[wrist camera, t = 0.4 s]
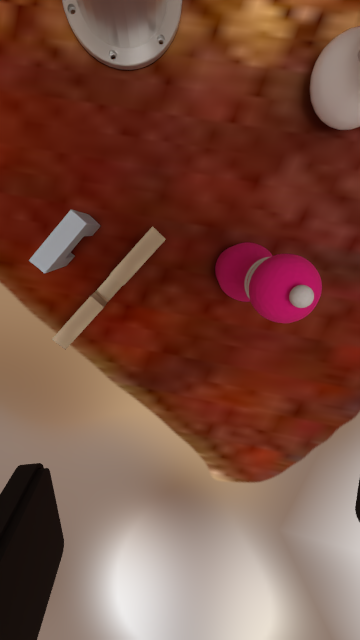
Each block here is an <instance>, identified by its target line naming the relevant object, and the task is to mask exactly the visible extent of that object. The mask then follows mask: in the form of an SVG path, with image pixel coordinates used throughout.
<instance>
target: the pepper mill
mask: <svg viewBox="0 0 360 640" xmlns="http://www.w3.org/2000/svg"><path fill="white" fill-rule="evenodd" d="M215 274H216V277H217V280H218V282H219V285H220V287H221V289H222V290H223V291H224V292H225V293H226V294H227V295H228V296H229V297H231V298H233V299H235V300H239V301H244V302H249V301H251V303H252V305H253V307H254V308H255V309H256V311H257V312H258V313H259V314H260V315H261V316H263V317H265V318H266V319H268V320H271V321H273V322H278V323H291V322H295V321H298V320H300V319H302V318H304V317H305V316H307V315H308V314H309V313H310V312H311V311H312V310H313V309H314V308H315V306H316V305H317V303H318V301H319V298H320V295H321V290H322V284H321V278H320V275H319V273H318V271H317V270H316V268H315V267H314V266H313V265H312V264H311V263H310V262H309V261H308V260H306V259H305V258H303V257H300V256H298V255H294V254H278V255H275V256H272V254H271V253H270V252H269V251H268V250H267V249H266V248H264V247H262V246H261V245H258V244H255V243H250V242H246V243H240V244H237V245H235V246H232V247H229V248H228V249H226V250H224V251H223V252H222V253H221V254H220V256H219V258H218V259H217V262H216V266H215Z"/></svg>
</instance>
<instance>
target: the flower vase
mask: <svg viewBox="0 0 360 640" xmlns="http://www.w3.org/2000/svg"><path fill="white" fill-rule="evenodd" d="M310 98H311V103H312V106H313V109H314V111H315V113H316V114H317V116H318V117H319V119H320V120H321V121H322V122H324V123H325V124H326V125H328V126H329V127H332V128H335V129H338V130H351V129H355V128H358V127H360V26H357V27H354V28H350V29H348V30H346V31H344V32H342V33H341V34H339V35H338V36H336V37H335V38H333V39H332V40H331V41H330V42H329V43H328V45H327V46H326V47H325V48H324V49H323V50H322V52H321V53H320V55H319V57H318V59H317V61H316V62H315V65H314V68H313V71H312V74H311V80H310Z"/></svg>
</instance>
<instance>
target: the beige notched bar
mask: <svg viewBox="0 0 360 640" xmlns="http://www.w3.org/2000/svg"><path fill="white" fill-rule="evenodd" d="M165 240H166V239H165V238H164V237H163V236H162V235H161V234H160V233H159V232H158V231H157V230H156V229H155V228H154V227H152V228H151V229H150V230H149V231H148V232H147V233H146V234H145V235H144V237H143V238H142V239H141V240H140V241H139V242H138V243H137V244H136V246H135V247H134V248H133V249H132V250H131V251H130V252H129V253H128V255H127V256H126V257H125V258H124V259H123V260H122V261H121V262H120V264H119V265H118V266H117V267H116V268H115V269H114V270H113V271H112V272H111V275H110V276H109V277H108V278H107V279H106V280H105V281H104V283H103V284H102V285H101V286H100V287H99V288H98V289H97V290H96V291H95V292H94V293H93V294H92V295H91V296H90V297H89V298H88V299H87V300H86V302H85V303H84V304H83V305H82V306H81V307H80V308H79V309H78V311H77V312H76V313H75V314H74V315H73V316H72V317H71V318H70V320H69V321H68V322H67V323H66V324H65V325H64V326H63V327H62V328H61V330H60V331H59V332H58V333H57V334H56V335H55V336H54V337H53V341H55V342H56V343H57V344H59V345H60V346H61V347H62V348H64V349H66V348H67V347H68V346H69V345H70V344H71V343H72V342H73V341H74V340H75V339H76V337H77V336H78V335H79V334H80V333H81V332H82V331H83V330H84V329H85V328H86V326H87V325H88V324H89V323H90V322H91V321H92V320H93V319H94V318H95V317H96V315H97V314H98V313H99V312H100V311H101V310H102V309H103V308H104V306H105V305H106V304H107V302H108V301H109V300H110V299H111V298H112V297H113V295H114V294H115V293H116V292H117V291H118V290H119V289H120V288H121V287H122V286H124V285H125V284H126V282H127V281H128V280H129V279H130V278H131V277H132V276H133V275H134V274H135V273H136V271H137V270H138V269H139V268H140V267H141V266H142V265H143V264H144V263H145V262H146V260H147V259H148V258H149V257H150V256H151V255H152V254H153V253H154V252H155V251H156V249H157V248H158V247H159V246H160V245H161V244H162V243H163V242H164V241H165Z"/></svg>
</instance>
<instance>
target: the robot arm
mask: <svg viewBox="0 0 360 640" xmlns="http://www.w3.org/2000/svg"><path fill="white" fill-rule="evenodd" d="M62 2H63V7H64V11H65V13H66V16H67V19H68V22H69V24H70V26H71V28H72V30H73V33H74V34H75V36H76V37H77V39H78V40H79V42H80V44H81V45H82V46H83V47H84V48H85V49H86V50H87V51H88V53H89V54H90V55H92V56H93V57H94V58H96V59H97V60H98V61H100V62H102V63H104V64H106V65H108V66H110V67H113V68H117V69H120V70H134V69H139V68H143V67H145V66H147V65H150V64H152V63H153V62H154V61H156V60H157V59H158V58H160V57H161V56H162V55H163V54H164V52H165V51H166V50H167V49H168V48H169V46H170V44H171V43H172V41H173V39H174V37H175V34H176V32H177V29H178V26H179V21H180V16H181V9H182V0H62ZM72 13H74V14H72ZM160 42H162V43H163V44H162V45H161V44H159V43H160ZM112 57H115V58H116V59H114V60H112ZM355 508H356V509H355V510H356V514H357V518H358V520H359V522H360V480H359V486H358V493H357V500H356V507H355ZM63 548H64V539H63V533H62V528H61V524H60V519H59V514H58V509H57V504H56V499H55V494H54V489H53V485H52V480H51V475H50V471H49V469H48V468H45V469H44V468H43V465H42V464H40V463H37V464H26V465H20V466H18V467H17V468H16V470H15V472H14V473H13V475H12V476H11V478H10V479H9V481H8V483H7V484H6V486H5V488H4V489H3V491H2V493H1V494H0V640H37V637H38V634H39V631H40V627H41V624H42V621H43V617H44V614H45V611H46V607H47V604H48V601H49V597H50V594H51V590H52V587H53V584H54V580H55V577H56V574H57V570H58V567H59V564H60V561H61V557H62V553H63Z"/></svg>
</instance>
